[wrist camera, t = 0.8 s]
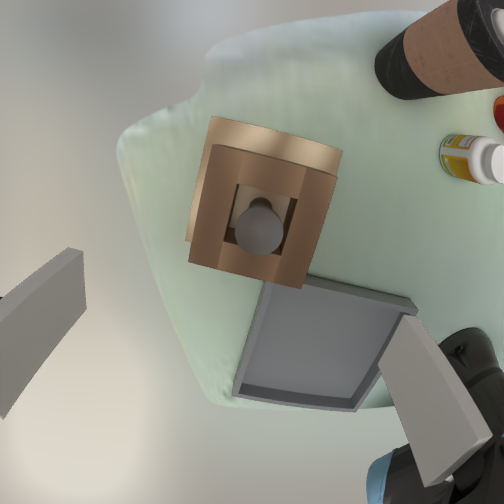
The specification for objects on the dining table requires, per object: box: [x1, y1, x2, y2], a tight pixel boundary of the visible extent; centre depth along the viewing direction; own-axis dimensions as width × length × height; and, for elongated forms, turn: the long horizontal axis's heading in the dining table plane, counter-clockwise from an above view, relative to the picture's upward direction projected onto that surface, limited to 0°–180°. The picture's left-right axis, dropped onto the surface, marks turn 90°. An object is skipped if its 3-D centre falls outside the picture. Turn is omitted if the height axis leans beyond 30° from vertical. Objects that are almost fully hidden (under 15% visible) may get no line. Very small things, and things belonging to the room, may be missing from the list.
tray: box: [232, 274, 418, 412], centre depth 38 cm, size 20×20×3 cm
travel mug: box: [375, 0, 504, 100], centre depth 17 cm, size 8×8×20 cm
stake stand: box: [185, 116, 342, 256], centre depth 26 cm, size 14×14×15 cm
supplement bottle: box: [440, 135, 504, 185], centre depth 25 cm, size 5×5×10 cm
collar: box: [188, 144, 338, 289], centre depth 23 cm, size 9×9×4 cm
